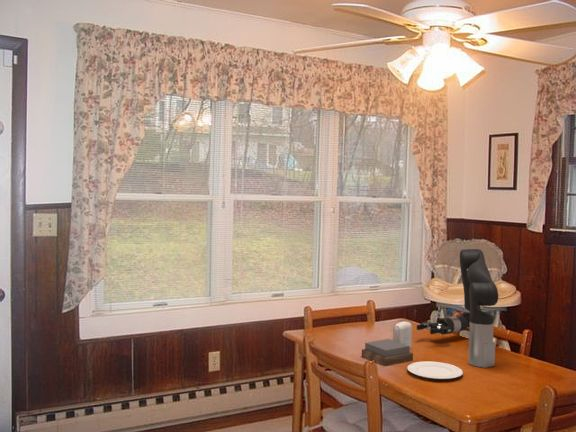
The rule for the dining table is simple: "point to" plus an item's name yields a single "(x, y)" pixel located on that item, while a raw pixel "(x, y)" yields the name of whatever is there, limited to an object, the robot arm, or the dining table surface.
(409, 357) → the base brick
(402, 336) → the photo printer
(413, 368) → the plate
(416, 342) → the dining table surface
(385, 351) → the top brick
